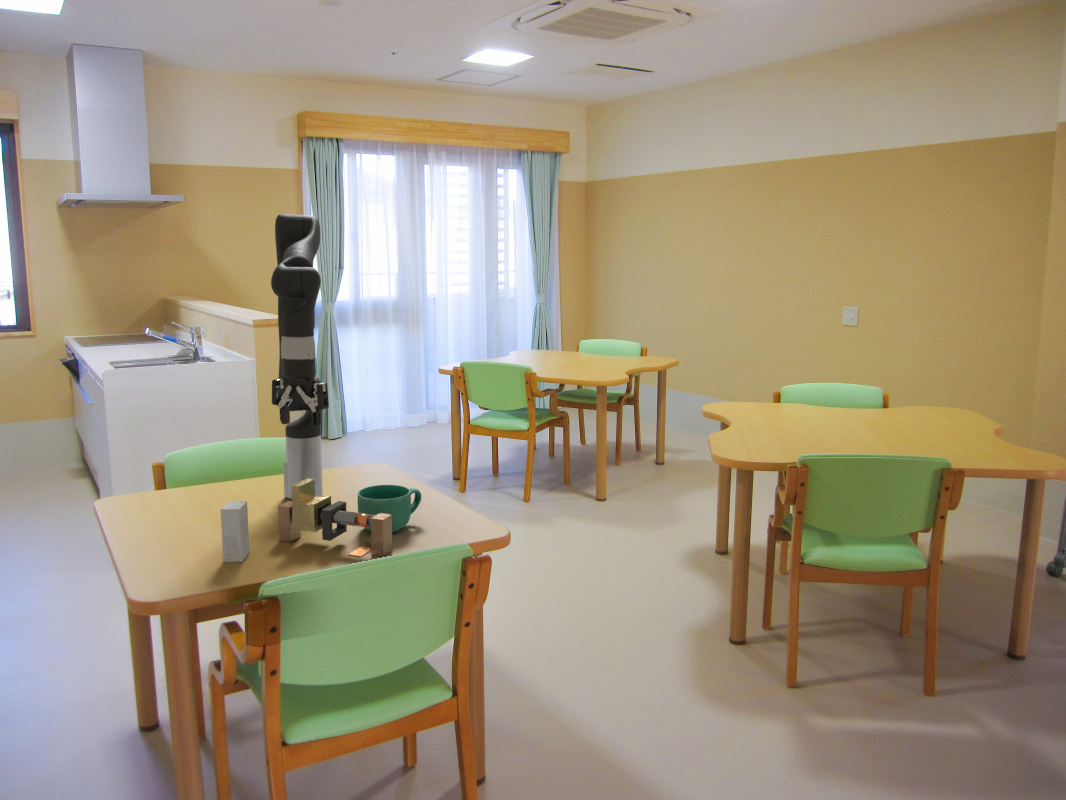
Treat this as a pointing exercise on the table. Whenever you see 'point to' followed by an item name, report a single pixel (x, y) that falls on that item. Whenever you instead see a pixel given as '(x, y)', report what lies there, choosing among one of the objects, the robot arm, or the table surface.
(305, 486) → the tan notched block
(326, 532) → the dark grey square plate
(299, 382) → the robot arm
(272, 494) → the table surface
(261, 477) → the table surface
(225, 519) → the skincare box
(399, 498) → the mug
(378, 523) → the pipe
